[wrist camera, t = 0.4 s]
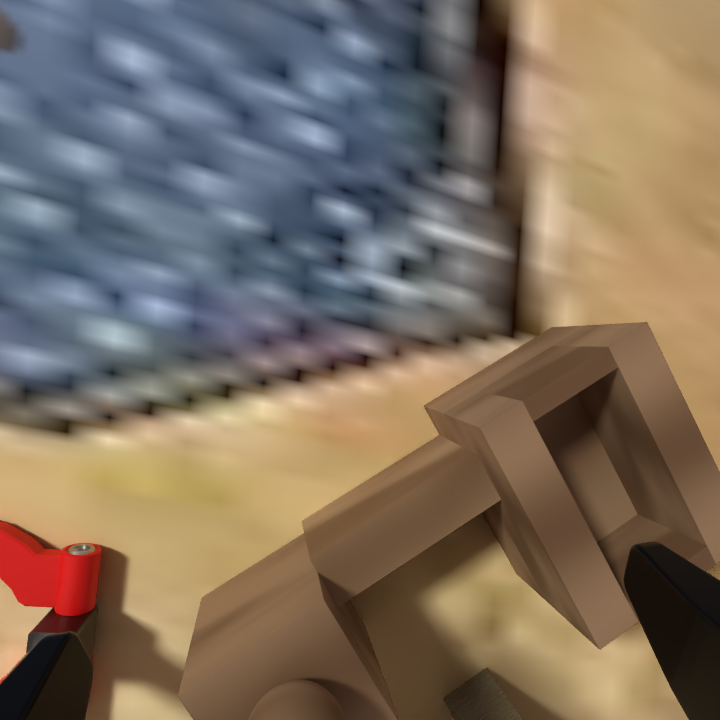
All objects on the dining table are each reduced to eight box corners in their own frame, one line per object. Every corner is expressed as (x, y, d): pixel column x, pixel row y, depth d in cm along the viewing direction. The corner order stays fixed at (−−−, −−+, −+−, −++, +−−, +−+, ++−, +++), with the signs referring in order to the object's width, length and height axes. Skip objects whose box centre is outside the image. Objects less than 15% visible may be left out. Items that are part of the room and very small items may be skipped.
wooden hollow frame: (635, 491, 25) (831, 570, 16) (287, 731, 22) (302, 977, 13) (551, 327, 24) (714, 318, 15) (176, 557, 21) (115, 705, 12)
